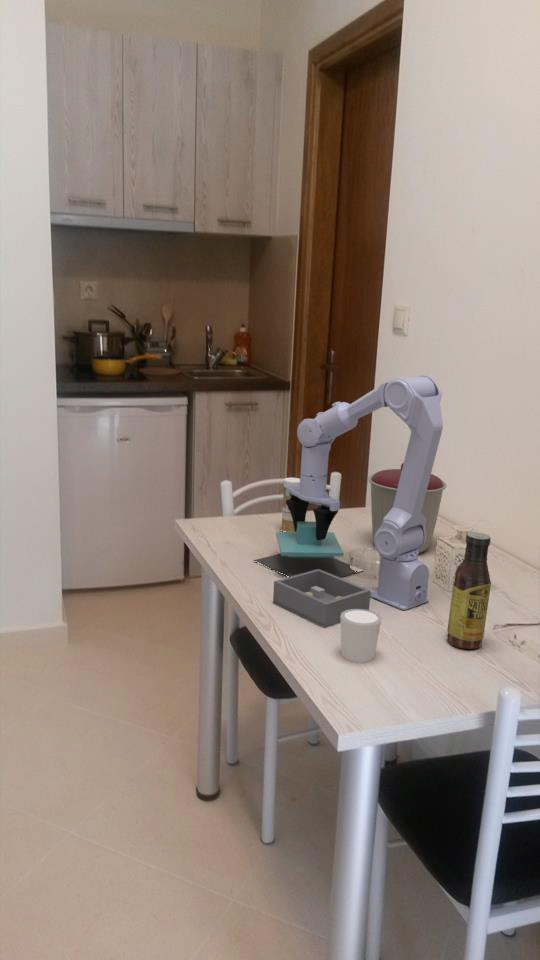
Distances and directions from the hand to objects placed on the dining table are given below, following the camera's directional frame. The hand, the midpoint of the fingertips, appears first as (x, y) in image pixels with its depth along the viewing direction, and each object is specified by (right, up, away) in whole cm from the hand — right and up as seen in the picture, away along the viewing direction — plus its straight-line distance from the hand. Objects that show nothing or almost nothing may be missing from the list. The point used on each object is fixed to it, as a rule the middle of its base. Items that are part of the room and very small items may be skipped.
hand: (309, 535), depth 174 cm
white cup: (+6, -18, -39) cm, 43 cm away
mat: (0, -7, +2) cm, 7 cm away
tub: (+1, -13, -20) cm, 24 cm away
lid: (0, -3, 0) cm, 3 cm away
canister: (+23, -4, +18) cm, 29 cm away
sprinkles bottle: (-4, -1, +26) cm, 26 cm away
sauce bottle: (+26, -17, -33) cm, 45 cm away
